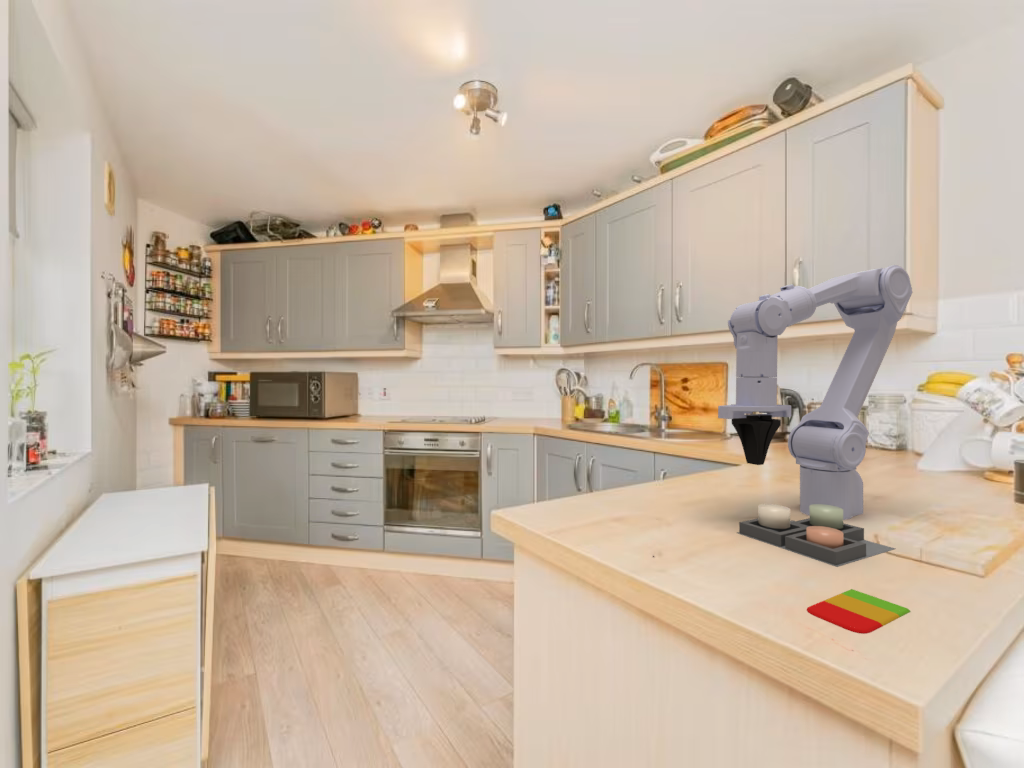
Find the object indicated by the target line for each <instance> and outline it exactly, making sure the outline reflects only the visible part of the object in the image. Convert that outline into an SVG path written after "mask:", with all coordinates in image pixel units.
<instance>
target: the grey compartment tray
mask: <svg viewBox="0 0 1024 768" xmlns="http://www.w3.org/2000/svg"><path fill="white" fill-rule="evenodd" d="M738 525H739V528H738V529H739V530H738V532H736V534H738V535H741V536H744V537H746V538H749V539H753V540H756V541H759V542H761V543H765V544H767V545H771V546H773V547H777V548H780V549H783V550H785V551H788V552H791V553H795V554H797V555H800V556H803V557H805V558H809V559H813V560H815V561H818V562H822V563H824V564H827V565H829V566H833V567H837V568H838V567H842V566H845V565H849V564H852V563H855V562H859V561H861V560H865V559H869V558H871V557H874V556H878V555H882V554H885V553H887V552H891V551H894V550H896V548H894V547H891V546H889V545H884V544H880V543H877V542H874V541H870V540H865V528H863V527H860V526H856V525H852V524H848V523H844V522H843V528H842V529H837V530H840V531H842V532H843V544H844V546H842V547H838V548H834V549H832V548H828V547H825V546H822V545H819V544H815V543H812V542H809V541H807V536H806V528H807V527H809V526H814V525H812V524H810V517H808V518H805V519H800V520H790V528H786V529H776V528H770V527H765V526H762V525H760V524H759V523H758V517H757V518H754V519H753V518H752V519H749V520H743V521H739V523H738Z"/></svg>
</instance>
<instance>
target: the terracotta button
mask: <svg viewBox="0 0 1024 768" xmlns="http://www.w3.org/2000/svg"><path fill="white" fill-rule="evenodd" d="M806 536H807V541H809V542H812V543H815V544H819V545H822V546H825V547H828V548H832V549H834V548H838V547H842V546H844V544H843V532H842V531H840V530H837V529H834V528H830V527H823V526H809V527H807V528H806Z"/></svg>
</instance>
